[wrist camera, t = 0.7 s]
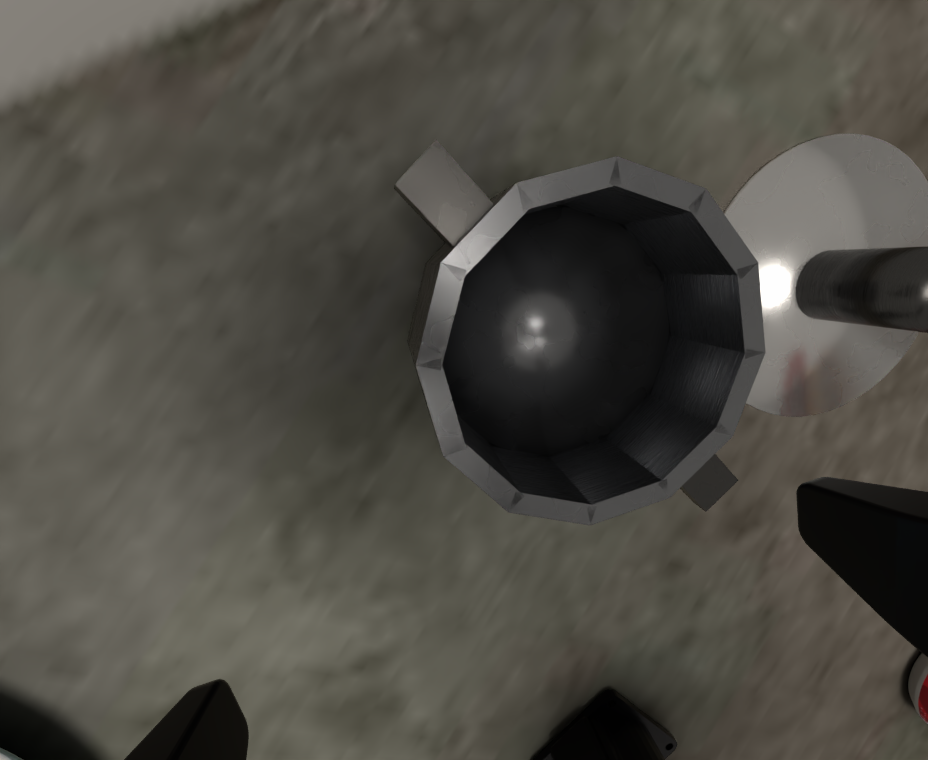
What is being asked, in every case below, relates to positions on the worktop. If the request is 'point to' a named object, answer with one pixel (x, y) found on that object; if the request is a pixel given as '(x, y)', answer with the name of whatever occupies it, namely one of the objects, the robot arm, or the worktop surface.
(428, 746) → the worktop surface
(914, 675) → the soda can
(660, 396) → the pot
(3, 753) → the plate
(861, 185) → the lid
